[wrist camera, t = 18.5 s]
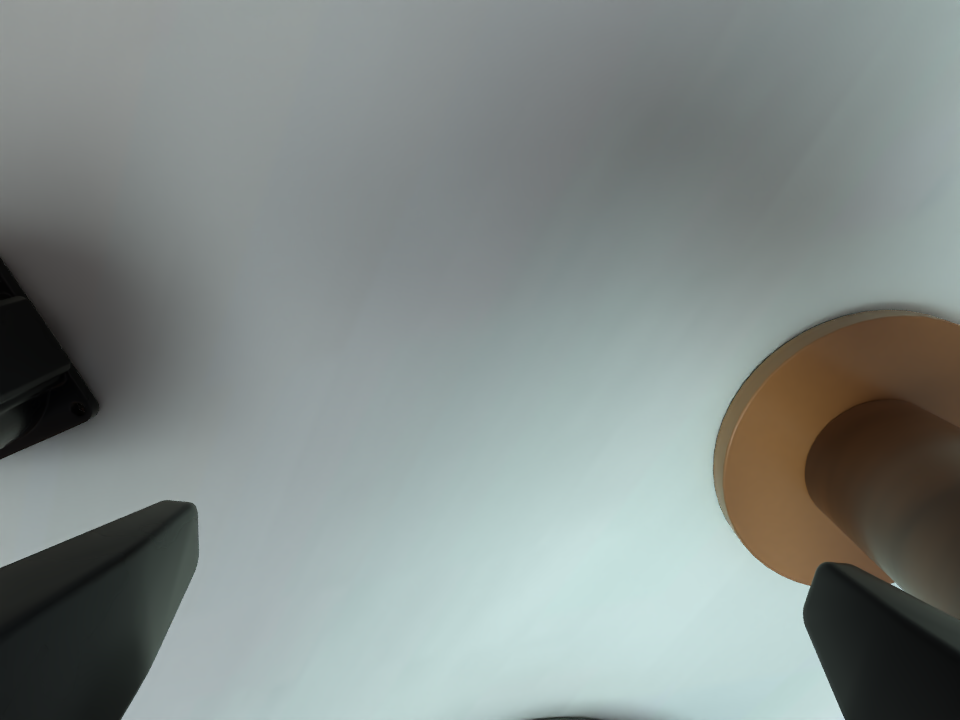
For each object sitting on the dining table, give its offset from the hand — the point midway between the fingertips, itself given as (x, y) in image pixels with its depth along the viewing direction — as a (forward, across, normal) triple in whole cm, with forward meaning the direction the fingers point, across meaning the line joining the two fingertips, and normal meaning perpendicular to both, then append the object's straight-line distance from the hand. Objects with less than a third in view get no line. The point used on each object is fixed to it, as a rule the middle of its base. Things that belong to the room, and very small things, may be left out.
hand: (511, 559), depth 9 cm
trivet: (+13, -14, +3) cm, 20 cm away
